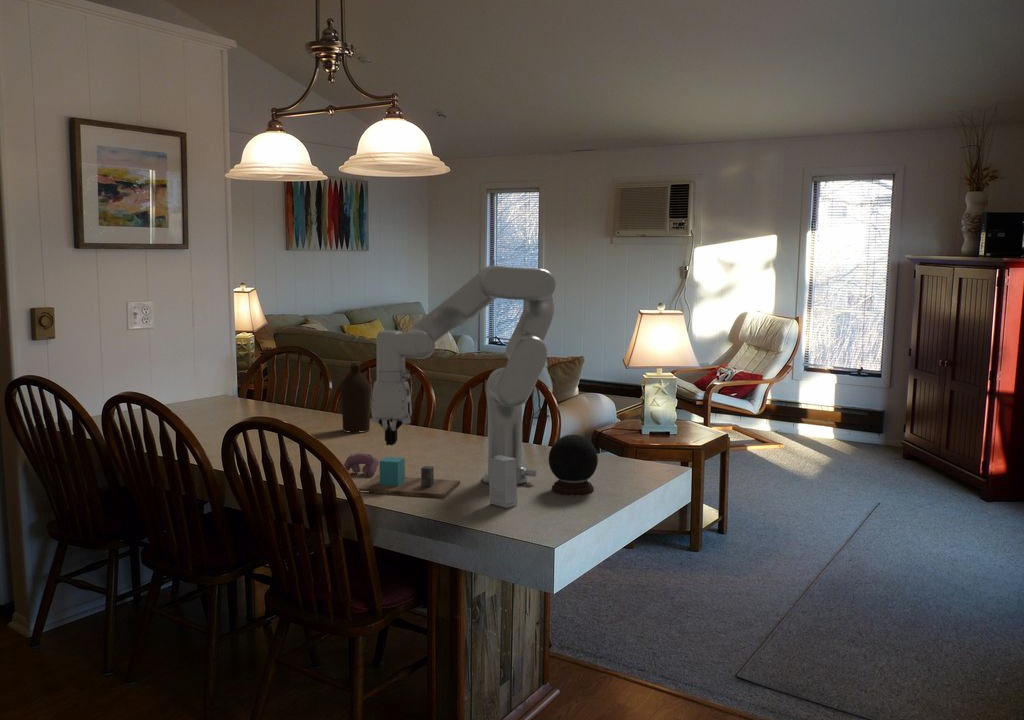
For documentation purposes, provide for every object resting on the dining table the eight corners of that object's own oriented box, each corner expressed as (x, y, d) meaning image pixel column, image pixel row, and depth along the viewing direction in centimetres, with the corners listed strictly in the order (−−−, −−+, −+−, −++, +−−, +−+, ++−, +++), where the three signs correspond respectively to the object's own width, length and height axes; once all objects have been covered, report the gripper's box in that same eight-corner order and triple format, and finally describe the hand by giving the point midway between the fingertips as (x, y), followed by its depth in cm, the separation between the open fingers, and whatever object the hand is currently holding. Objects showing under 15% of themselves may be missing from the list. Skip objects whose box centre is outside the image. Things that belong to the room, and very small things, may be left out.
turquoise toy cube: (404, 481, 230) (404, 457, 229) (398, 486, 225) (397, 462, 224) (387, 480, 231) (386, 456, 230) (379, 485, 226) (379, 461, 225)
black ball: (585, 499, 217) (586, 442, 215) (539, 492, 223) (540, 436, 222) (605, 487, 228) (606, 433, 227) (561, 481, 235) (561, 428, 233)
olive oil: (353, 434, 295) (352, 364, 292) (335, 430, 302) (333, 361, 299) (377, 430, 303) (376, 361, 300) (358, 426, 310) (357, 359, 307)
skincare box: (517, 505, 211) (518, 458, 210) (505, 509, 208) (505, 461, 207) (500, 500, 216) (500, 454, 214) (487, 504, 212) (487, 457, 211)
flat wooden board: (459, 484, 231) (459, 462, 230) (444, 498, 217) (444, 475, 217) (378, 478, 236) (377, 457, 236) (358, 491, 223) (357, 469, 222)
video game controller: (377, 479, 241) (381, 456, 244) (371, 476, 237) (375, 452, 239) (345, 477, 244) (350, 453, 246) (339, 474, 240) (343, 450, 242)
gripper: (422, 376, 226) (422, 443, 229) (370, 373, 230) (370, 439, 232) (412, 379, 219) (412, 449, 221) (359, 377, 222) (359, 445, 225)
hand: (391, 444), depth 227 cm, fingers closed
